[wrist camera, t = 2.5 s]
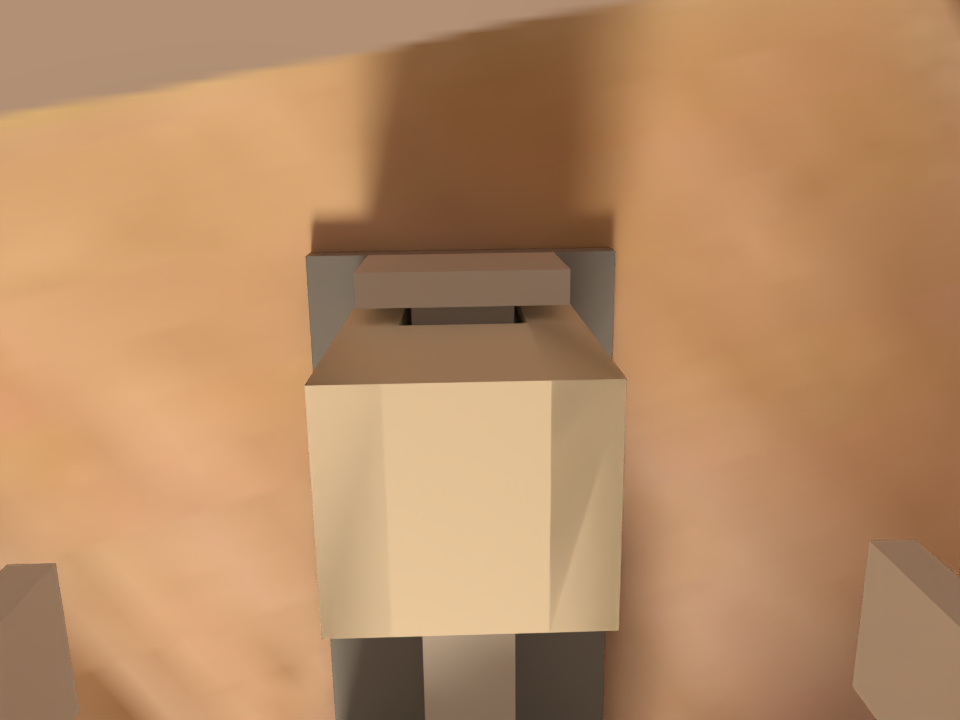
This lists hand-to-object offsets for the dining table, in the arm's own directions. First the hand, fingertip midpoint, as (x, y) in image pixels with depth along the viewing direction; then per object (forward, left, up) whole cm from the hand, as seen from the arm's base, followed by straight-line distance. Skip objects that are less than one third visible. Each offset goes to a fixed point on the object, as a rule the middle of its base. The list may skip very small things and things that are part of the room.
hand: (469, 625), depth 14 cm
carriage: (0, 0, -14) cm, 15 cm away
